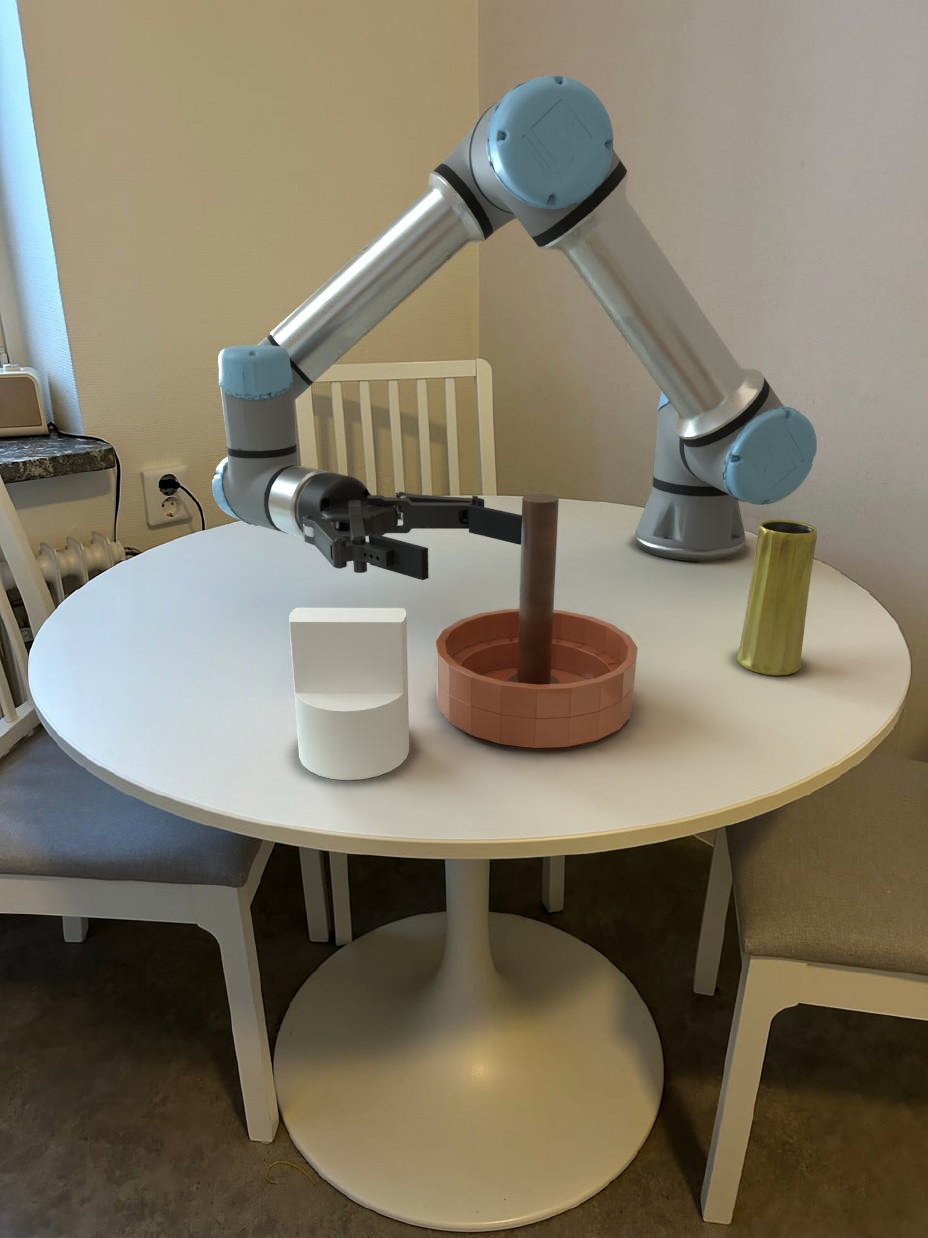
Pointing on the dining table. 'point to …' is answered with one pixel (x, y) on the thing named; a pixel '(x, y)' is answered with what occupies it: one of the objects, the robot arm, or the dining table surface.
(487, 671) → the bowl
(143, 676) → the dining table surface
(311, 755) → the base with upright slab
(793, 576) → the vase
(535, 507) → the brown peg
